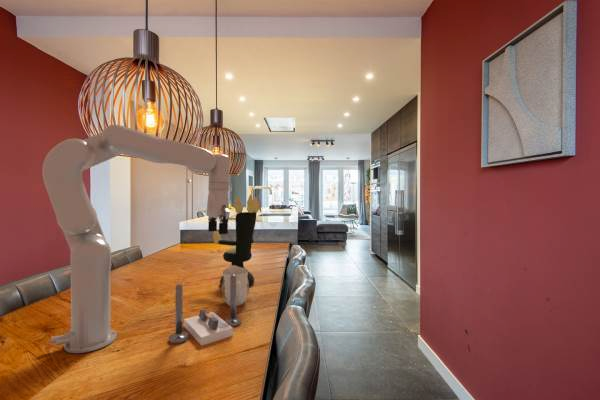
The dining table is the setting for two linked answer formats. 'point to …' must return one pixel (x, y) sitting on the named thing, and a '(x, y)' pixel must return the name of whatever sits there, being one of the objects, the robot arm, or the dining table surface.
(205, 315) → the square dumbbell
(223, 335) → the panel
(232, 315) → the rod right
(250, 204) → the flowering cactus
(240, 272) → the pitcher
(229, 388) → the dining table surface
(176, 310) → the rod left
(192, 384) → the dining table surface
